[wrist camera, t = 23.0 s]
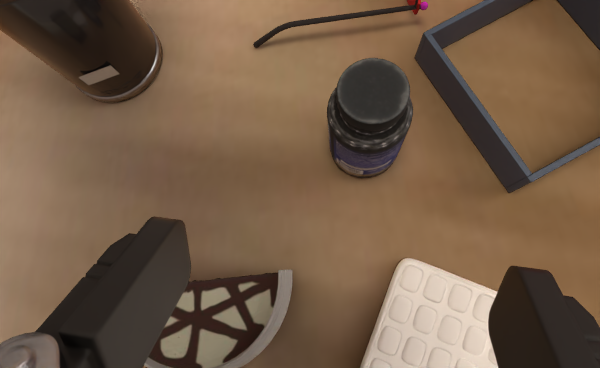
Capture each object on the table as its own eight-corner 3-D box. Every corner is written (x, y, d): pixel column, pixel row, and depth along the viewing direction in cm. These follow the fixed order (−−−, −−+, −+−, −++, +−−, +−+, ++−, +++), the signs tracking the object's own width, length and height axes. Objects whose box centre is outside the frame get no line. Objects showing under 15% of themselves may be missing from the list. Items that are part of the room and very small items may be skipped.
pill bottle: (410, 158, 35) (442, 105, 24) (351, 191, 35) (356, 153, 24) (374, 103, 37) (389, 31, 26) (317, 135, 36) (308, 75, 26)
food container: (164, 361, 33) (92, 395, 23) (163, 285, 35) (95, 288, 25) (310, 348, 32) (298, 378, 22) (302, 271, 34) (288, 268, 24)
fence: (414, 58, 37) (423, 32, 33) (550, -15, 38) (575, -49, 34) (508, 193, 34) (531, 182, 30) (659, 111, 34) (700, 89, 30)
